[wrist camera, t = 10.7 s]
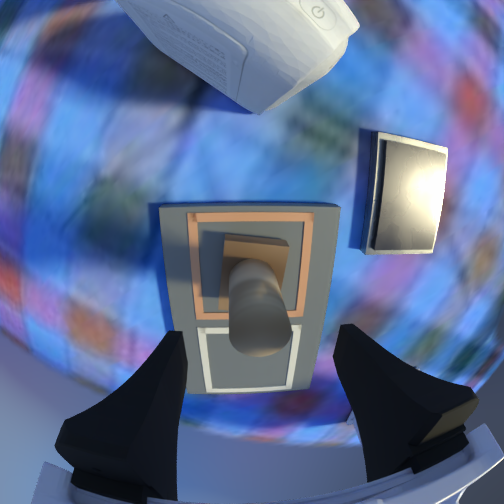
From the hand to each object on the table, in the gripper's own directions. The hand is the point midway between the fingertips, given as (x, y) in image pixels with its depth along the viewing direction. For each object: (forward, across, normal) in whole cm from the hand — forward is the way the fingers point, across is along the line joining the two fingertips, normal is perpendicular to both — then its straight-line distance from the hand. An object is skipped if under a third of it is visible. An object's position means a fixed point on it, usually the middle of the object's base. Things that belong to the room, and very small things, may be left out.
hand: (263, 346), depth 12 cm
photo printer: (+9, +2, -14) cm, 17 cm away
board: (+9, 0, +4) cm, 10 cm away
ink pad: (+9, -12, -6) cm, 16 cm away
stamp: (+8, 0, 0) cm, 8 cm away
